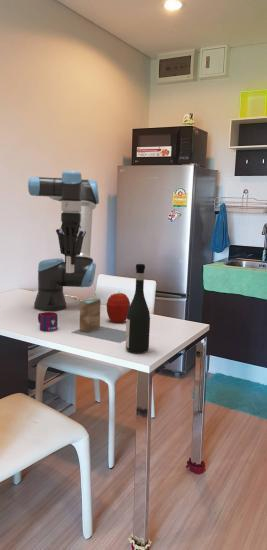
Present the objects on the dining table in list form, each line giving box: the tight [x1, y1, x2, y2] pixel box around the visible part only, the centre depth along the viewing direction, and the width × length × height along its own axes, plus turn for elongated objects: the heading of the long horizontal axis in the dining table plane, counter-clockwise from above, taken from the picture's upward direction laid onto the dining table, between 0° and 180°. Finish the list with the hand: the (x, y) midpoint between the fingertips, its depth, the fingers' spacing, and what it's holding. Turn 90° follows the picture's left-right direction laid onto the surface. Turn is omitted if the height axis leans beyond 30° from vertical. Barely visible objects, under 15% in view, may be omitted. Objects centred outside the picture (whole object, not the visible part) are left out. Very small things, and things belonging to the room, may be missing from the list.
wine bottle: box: [125, 263, 151, 354], centre depth 146 cm, size 8×8×30 cm
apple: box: [105, 292, 131, 324], centre depth 182 cm, size 10×10×14 cm
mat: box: [71, 325, 126, 344], centre depth 165 cm, size 22×14×1 cm, turn 61°
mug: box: [37, 311, 59, 333], centre depth 168 cm, size 7×10×7 cm
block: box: [79, 297, 101, 333], centre depth 167 cm, size 4×8×12 cm, turn 151°
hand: (70, 272), depth 170 cm, fingers closed
